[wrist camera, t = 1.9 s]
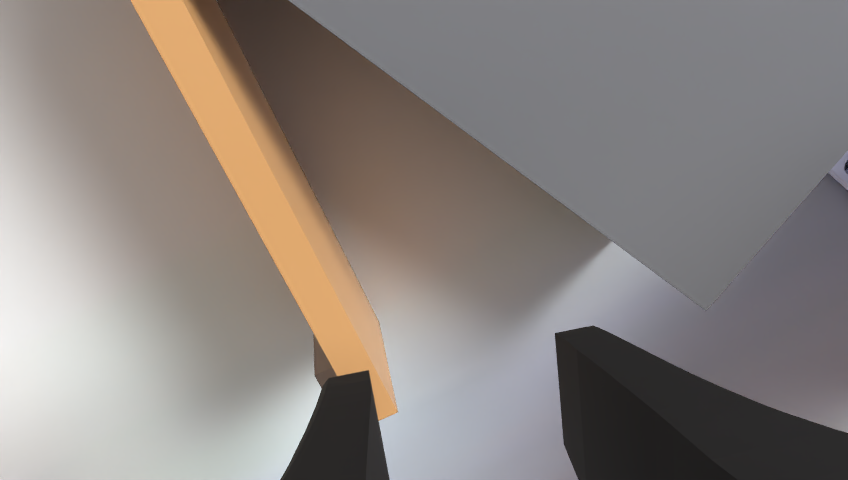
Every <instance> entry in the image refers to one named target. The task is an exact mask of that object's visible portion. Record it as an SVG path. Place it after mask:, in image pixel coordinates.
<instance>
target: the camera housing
mask: <svg viewBox="0 0 848 480" xmlns="http://www.w3.org/2000/svg"><path fill="white" fill-rule="evenodd" d="M289 1H290V2H291V3H293V4H294V5H295V6H297V7H298V8H299V9H301V10H302V11H303V12H305V13H306V14H307V15H309V16H310V17H311V18H313V19H314V20H315V21H317V22H318V23H319V24H321V25H322V26H323V27H325V28H326V29H328V30H329V31H330V32H332V33H333V34H334V35H336V36H337V37H338V38H340V39H341V40H342V41H344V42H345V43H346V44H348V45H349V46H350V47H352V48H353V49H354V50H356V51H357V52H358V53H360V54H361V55H362V56H364V57H365V58H367V59H368V60H369V61H371V62H372V63H373V64H375V65H376V66H377V67H379V68H380V69H381V70H383V71H384V72H385V73H387V74H388V75H389V76H391V77H392V78H393V79H395V80H396V81H397V82H399V83H400V84H402V85H403V86H404V87H406V88H407V89H408V90H410V91H411V92H412V93H414V94H415V95H416V96H418V97H419V98H420V99H422V100H423V101H424V102H426V103H427V104H428V105H430V106H431V107H432V108H434V109H435V110H436V111H438V112H439V113H441V114H442V115H443V116H445V117H446V118H447V119H449V120H450V121H451V122H453V123H454V124H455V125H457V126H458V127H459V128H461V129H462V130H463V131H465V132H466V133H467V134H469V135H470V136H471V137H473V138H474V139H475V140H477V141H478V142H480V143H481V144H482V145H484V146H485V147H486V148H488V149H489V150H490V151H492V152H493V153H494V154H496V155H497V156H498V157H500V158H501V159H502V160H504V161H505V162H506V163H508V164H509V165H510V166H512V167H513V168H514V169H516V170H517V171H519V172H520V173H521V174H523V175H524V176H525V177H527V178H528V179H529V180H531V181H532V182H533V183H535V184H536V185H537V186H539V187H540V188H541V189H543V190H544V191H545V192H547V193H548V194H549V195H551V196H552V197H553V198H555V199H556V200H558V201H559V202H560V203H562V204H563V205H564V206H566V207H567V208H568V209H570V210H571V211H572V212H574V213H575V214H576V215H578V216H579V217H580V218H582V219H583V220H584V221H586V222H587V223H588V224H590V225H591V226H592V227H594V228H595V229H597V230H598V231H599V232H601V233H602V234H603V235H605V236H606V237H607V238H609V239H610V240H611V241H613V242H614V243H615V244H617V245H618V246H619V247H621V248H622V249H623V250H625V251H626V252H627V253H629V254H630V255H631V256H633V257H634V258H636V259H637V260H638V261H640V262H641V263H642V264H644V265H645V266H646V267H648V268H649V269H650V270H652V271H653V272H654V273H656V274H657V275H658V276H660V277H661V278H662V279H664V280H665V281H666V282H668V283H669V284H670V285H672V286H673V287H675V288H676V289H677V290H679V291H680V292H681V293H683V294H684V295H685V296H687V297H688V298H689V299H691V300H692V301H693V302H695V303H696V304H697V305H699V306H700V307H701V308H703V309H704V310H705V311H707V310H708V309H709V307H710V306H711V305H712V304H713V303H714V302H715V301H716V300H717V298H718V297H719V296H720V295H721V294H722V293H723V292H724V290H725V289H726V288H727V287H728V286H729V285H730V284H731V283H732V281H733V280H734V279H735V278H736V277H737V276H738V275H739V273H740V272H741V271H742V270H743V269H744V268H745V267H746V265H747V264H748V263H749V262H750V261H751V260H752V259H753V258H754V256H755V255H756V254H757V253H758V252H759V251H760V250H761V248H762V247H763V246H764V245H765V244H766V243H767V242H768V240H769V239H770V238H771V237H772V236H773V235H774V234H775V233H776V231H777V230H778V229H779V228H780V227H781V226H782V225H783V223H784V222H785V221H786V220H787V219H788V218H789V217H790V216H791V214H792V213H793V212H794V211H795V210H796V209H797V208H798V206H799V205H800V204H801V203H802V202H803V201H804V200H805V198H806V197H807V196H808V195H809V194H810V193H811V192H812V191H813V189H814V188H815V187H816V186H817V185H818V184H819V183H820V181H821V180H822V179H823V178H824V177H825V176H826V175H827V173H828V172H829V171H830V170H831V169H832V168H833V167H834V166H835V164H836V163H837V162H838V161H839V160H840V159H841V158H842V156H843V155H844V154H845V153H846V152H847V151H848V0H289Z"/></svg>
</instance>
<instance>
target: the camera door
mask: <svg viewBox="0 0 848 480" xmlns="http://www.w3.org/2000/svg"><path fill="white" fill-rule="evenodd" d="M131 2H132V4H133V6H134V8H135V10H136V11H137V13H138V15H139V17H140V19H141V20H142V22H143V24H144V26H145V28H146V29H147V31H148V33H149V35H150V37H151V39H152V40H153V42H154V44H155V46H156V48H157V49H158V51H159V53H160V55H161V57H162V59H163V60H164V62H165V64H166V66H167V68H168V69H169V71H170V73H171V75H172V77H173V79H174V80H175V82H176V84H177V86H178V88H179V89H180V91H181V93H182V95H183V97H184V99H185V100H186V102H187V104H188V106H189V108H190V109H191V111H192V113H193V115H194V117H195V119H196V120H197V122H198V124H199V126H200V128H201V129H202V131H203V133H204V135H205V137H206V139H207V140H208V142H209V144H210V146H211V148H212V149H213V151H214V153H215V155H216V157H217V159H218V160H219V162H220V164H221V166H222V168H223V169H224V171H225V173H226V175H227V177H228V179H229V180H230V182H231V184H232V186H233V188H234V189H235V191H236V193H237V195H238V197H239V199H240V200H241V202H242V204H243V206H244V208H245V209H246V211H247V213H248V215H249V217H250V219H251V220H252V222H253V224H254V226H255V228H256V229H257V231H258V233H259V235H260V237H261V238H262V240H263V242H264V244H265V246H266V248H267V249H268V251H269V253H270V255H271V257H272V258H273V260H274V262H275V264H276V266H277V268H278V269H279V271H280V273H281V275H282V277H283V278H284V280H285V282H286V284H287V286H288V288H289V289H290V291H291V293H292V295H293V297H294V298H295V300H296V302H297V304H298V306H299V308H300V309H301V311H302V313H303V315H304V317H305V318H306V320H307V322H308V324H309V326H310V328H311V329H312V331H313V333H314V370H315V377H316V379H317V381H318V382H319V384H320V386H321V388H322V386H323V385H324V384H325V382H326V381H327V380H328V378H331V377H336V376H341V375H346V374H351V373H356V372H361V371H366V370H369V373H370V379H371V384H372V389H373V395H374V400H375V405H376V411H377V416H378V421H379V420H382V419H384V418H386V417H388V416H391V415H393V414H395V413H397V412H398V410H397V405H396V401H395V396H394V391H393V386H392V382H391V377H390V372H389V367H388V363H387V358H386V353H385V348H384V343H383V339H382V334H381V329H380V324H379V321H378V319H377V317H376V315H375V313H374V311H373V309H372V307H371V305H370V303H369V301H368V299H367V297H366V295H365V294H364V292H363V290H362V288H361V286H360V284H359V282H358V280H357V278H356V276H355V274H354V272H353V270H352V268H351V266H350V264H349V262H348V260H347V258H346V256H345V254H344V252H343V250H342V248H341V246H340V244H339V242H338V240H337V238H336V236H335V234H334V232H333V230H332V228H331V226H330V224H329V222H328V220H327V218H326V216H325V214H324V212H323V210H322V208H321V206H320V205H319V203H318V201H317V199H316V197H315V195H314V193H313V191H312V189H311V187H310V185H309V183H308V181H307V179H306V177H305V175H304V173H303V171H302V169H301V167H300V165H299V163H298V161H297V159H296V157H295V155H294V153H293V151H292V149H291V147H290V145H289V143H288V141H287V139H286V137H285V135H284V133H283V131H282V129H281V127H280V125H279V123H278V121H277V119H276V117H275V115H274V114H273V112H272V110H271V108H270V106H269V104H268V102H267V100H266V98H265V96H264V94H263V92H262V90H261V88H260V86H259V84H258V82H257V80H256V78H255V76H254V74H253V72H252V70H251V68H250V66H249V64H248V62H247V60H246V58H245V56H244V54H243V52H242V50H241V48H240V46H239V44H238V42H237V40H236V38H235V36H234V34H233V32H232V30H231V28H230V26H229V25H228V23H227V21H226V19H225V17H224V15H223V13H222V11H221V9H220V7H219V5H218V3H217V1H216V0H131Z"/></svg>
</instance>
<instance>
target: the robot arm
mask: <svg viewBox="0 0 848 480" xmlns="http://www.w3.org/2000/svg"><path fill="white" fill-rule="evenodd" d="M847 160H848V151H847V152H846V153H845V154H844V155H843V156H842V158H841V159H840V160H839V161H838V162H837V163H836V164H835V166H834V167H833V168H832V169H831V170H830V171H829V172H828V173H829V174H830V175H831V176H832V177H833V178H834V179H836V180H837V181H838V182H839V183H840V184H841V185H842V186H843V187H844V188H846V189H847V190H848V169H847V170H844V167H845V163H846V162H847ZM555 340H556V352H557V365H558V377H559V390H560V402H561V414H562V427H563V439H564V445H565V448H566V450H567V453H568V455H569V458H570V460H571V463H572V465H573V467H574V470H575V472H576V475H577V477H578V479H579V480H848V433H846V432H842V431H839V430H835V429H832V428H829V427H826V426H823V425H820V424H817V423H814V422H811V421H808V420H805V419H802V418H799V417H796V416H793V415H790V414H787V413H784V412H781V411H779V410H776V409H773V408H771V407H768V406H765V405H763V404H760V403H758V402H755V401H753V400H750V399H748V398H746V397H743V396H741V395H738V394H736V393H734V392H731V391H729V390H726V389H724V388H722V387H719V386H717V385H715V384H713V383H711V382H708V381H706V380H704V379H702V378H700V377H697V376H695V375H693V374H691V373H689V372H687V371H685V370H683V369H681V368H679V367H677V366H674V365H672V364H670V363H668V362H666V361H664V360H662V359H660V358H658V357H656V356H654V355H652V354H650V353H649V352H647V351H645V350H643V349H641V348H639V347H637V346H635V345H633V344H631V343H629V342H627V341H625V340H623V339H621V338H619V337H617V336H615V335H613V334H611V333H609V332H607V331H605V330H603V329H600V328H598V327H595V326H589V327H584V328H579V329H574V330H569V331H563V332H558V333H555ZM280 480H389V474H388V469H387V464H386V458H385V453H384V448H383V443H382V437H381V432H380V427H379V421H378V416H377V411H376V405H375V400H374V395H373V389H372V384H371V379H370V373H369V370H366V371H361V372H356V373H351V374H346V375H341V376H336V377H331V378H328V380H327V381H326V382H325V384H324V385H323V386H322V390H321V393H320V396H319V399H318V402H317V405H316V407H315V410H314V412H313V415H312V417H311V419H310V422H309V424H308V426H307V429H306V431H305V433H304V435H303V437H302V439H301V441H300V443H299V445H298V447H297V449H296V451H295V453H294V455H293V457H292V460H291V462H290V463H289V465H288V467H287V469H286V471H285V473H284V474H283V476H282V478H281V479H280Z"/></svg>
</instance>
